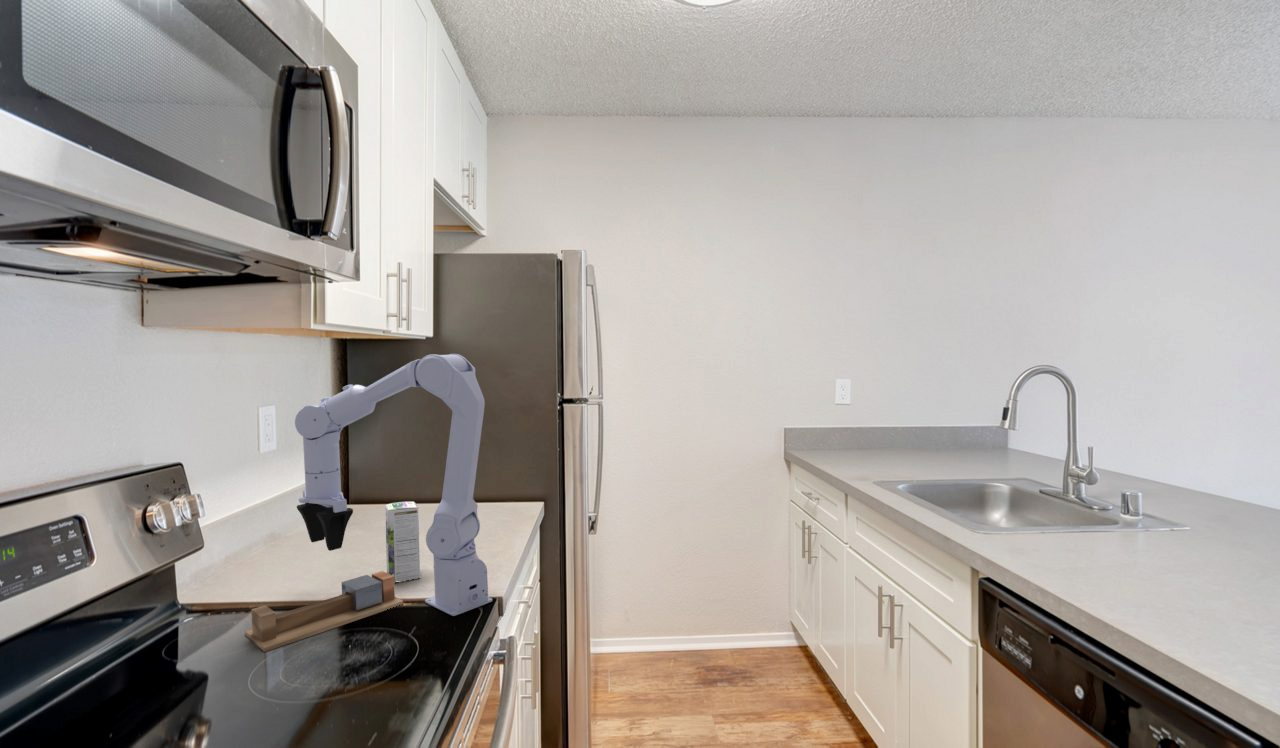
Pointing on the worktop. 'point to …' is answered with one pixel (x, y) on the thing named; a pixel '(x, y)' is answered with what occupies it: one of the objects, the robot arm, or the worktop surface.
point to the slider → (363, 591)
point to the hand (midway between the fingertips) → (326, 544)
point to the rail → (315, 617)
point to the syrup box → (402, 541)
